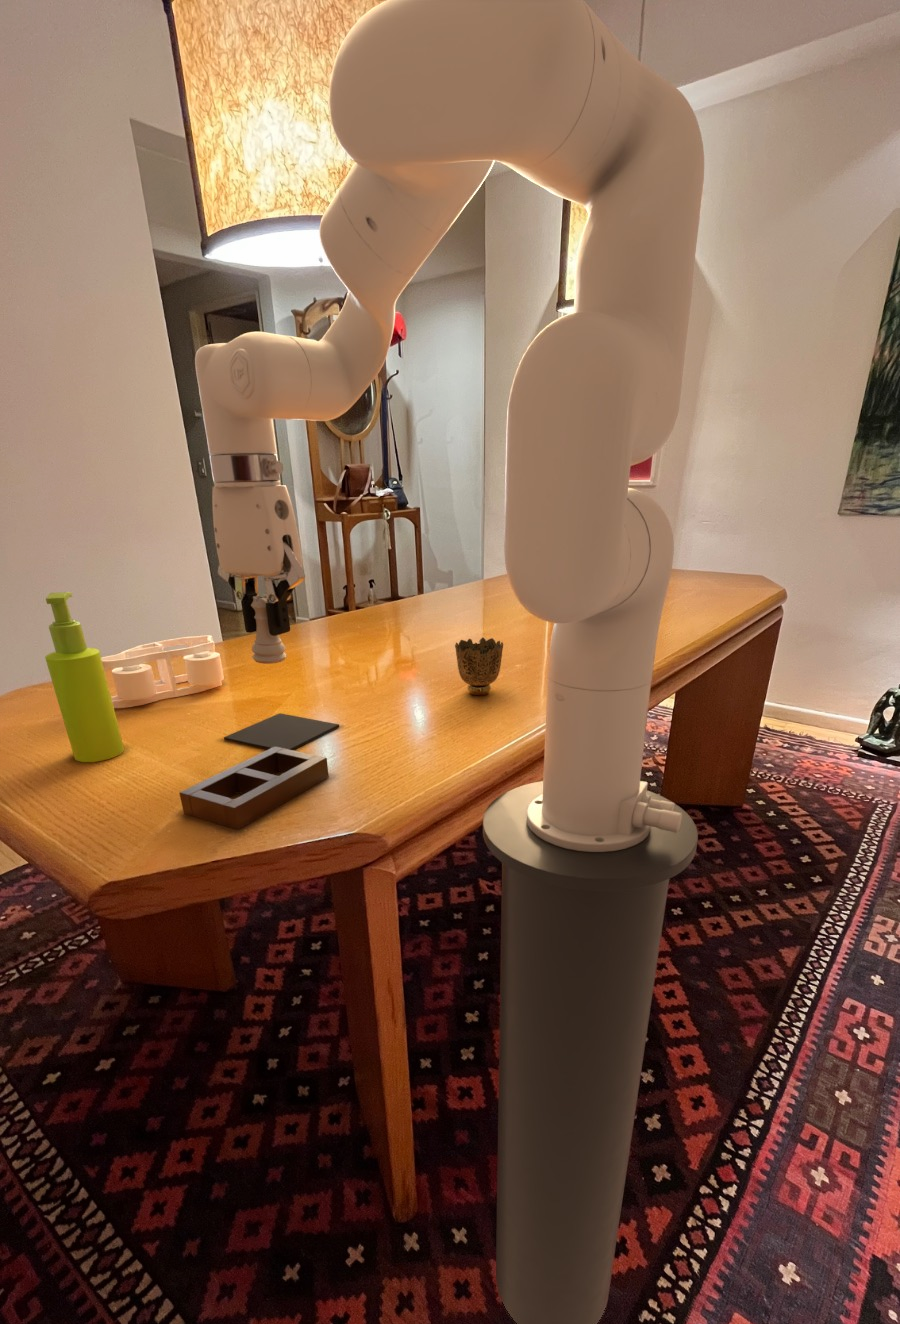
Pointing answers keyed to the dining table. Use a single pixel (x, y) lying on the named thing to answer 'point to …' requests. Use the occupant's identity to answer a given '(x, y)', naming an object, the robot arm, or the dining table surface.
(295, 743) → the coaster
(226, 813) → the holder
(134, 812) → the dining table surface
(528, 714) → the dining table surface
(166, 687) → the skeletal toy car
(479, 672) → the cup
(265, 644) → the rook chess piece
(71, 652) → the soap dispenser
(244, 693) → the dining table surface
